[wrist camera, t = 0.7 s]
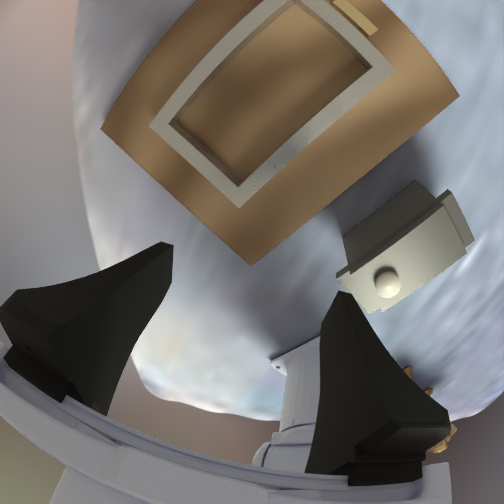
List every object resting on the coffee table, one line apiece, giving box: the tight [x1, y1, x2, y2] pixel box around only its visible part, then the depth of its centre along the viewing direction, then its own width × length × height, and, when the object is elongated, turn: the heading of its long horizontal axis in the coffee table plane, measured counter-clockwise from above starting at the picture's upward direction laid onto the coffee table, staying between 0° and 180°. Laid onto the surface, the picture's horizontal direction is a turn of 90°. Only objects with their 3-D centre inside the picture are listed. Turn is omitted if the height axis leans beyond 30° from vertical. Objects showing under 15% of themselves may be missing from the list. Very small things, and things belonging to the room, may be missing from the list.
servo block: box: [336, 180, 474, 314], centre depth 17 cm, size 4×9×6 cm, turn 137°
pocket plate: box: [100, 0, 460, 266], centre depth 15 cm, size 16×20×2 cm
